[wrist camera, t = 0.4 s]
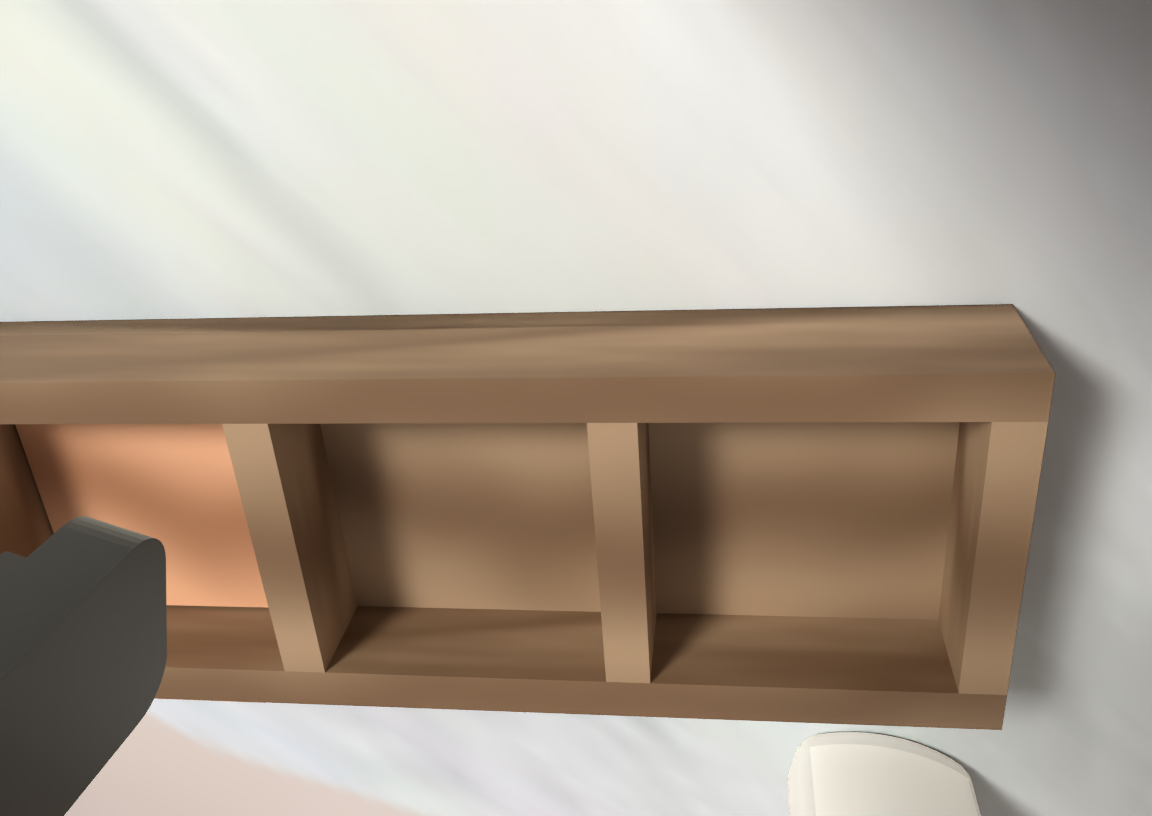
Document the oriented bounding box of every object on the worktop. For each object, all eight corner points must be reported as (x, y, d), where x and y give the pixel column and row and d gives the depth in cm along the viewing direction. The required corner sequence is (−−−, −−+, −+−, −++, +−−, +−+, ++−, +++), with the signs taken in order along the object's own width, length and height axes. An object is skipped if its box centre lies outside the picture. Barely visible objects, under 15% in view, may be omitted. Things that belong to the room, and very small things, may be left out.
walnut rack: (-29, 322, 31) (-126, 383, 27) (1012, 304, 27) (1055, 373, 23) (77, 616, 36) (6, 700, 32) (970, 639, 32) (1000, 738, 28)
